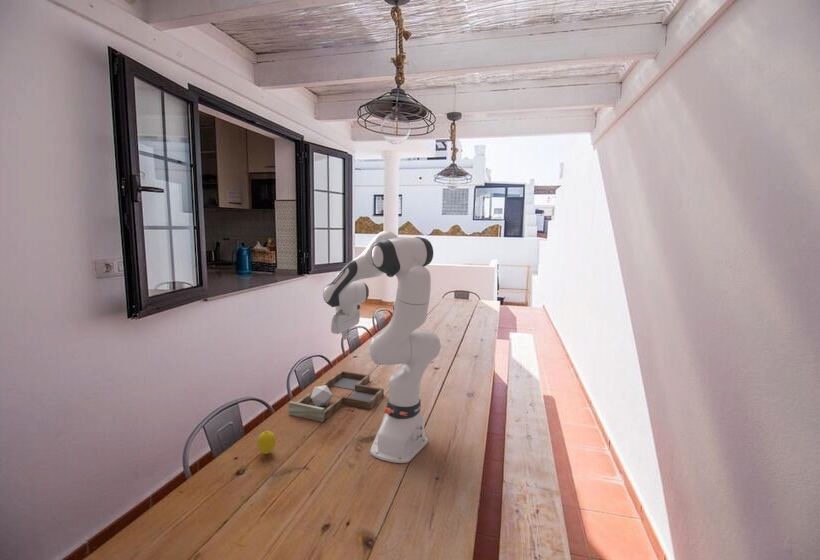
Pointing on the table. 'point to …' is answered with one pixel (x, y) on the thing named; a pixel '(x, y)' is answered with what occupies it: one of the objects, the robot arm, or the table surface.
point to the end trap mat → (346, 383)
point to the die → (321, 396)
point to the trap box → (320, 414)
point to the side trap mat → (361, 396)
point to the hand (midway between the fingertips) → (345, 338)
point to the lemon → (266, 442)
